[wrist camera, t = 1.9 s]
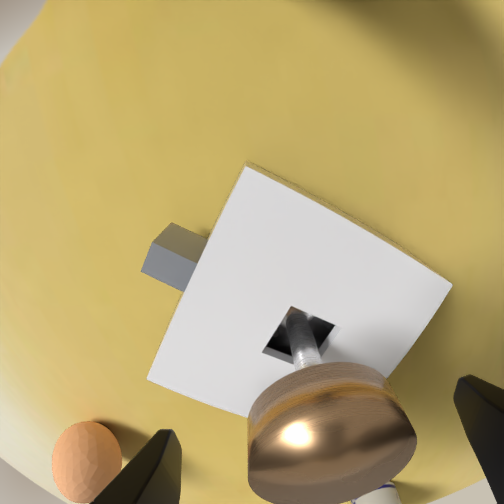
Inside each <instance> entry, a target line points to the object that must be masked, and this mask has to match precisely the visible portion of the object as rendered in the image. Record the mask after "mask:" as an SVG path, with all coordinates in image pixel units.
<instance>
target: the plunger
mask: <svg viewBox="0 0 504 504" xmlns="http://www.w3.org/2000/svg"><path fill="white" fill-rule="evenodd" d="M334 326H335V325H334V324H332V323H330V322H327V321H325V320H323V319H320V318H318V317H316V316H313V315H311V314H309V313H307V312H304V311H302V310H300V309H297V308H295V307H293V306H290V308H289V310H288V311H287V313H286V315H285V316H284V318H283V319H282V321H281V323H280V324H279V326H278V327H277V329H276V331H275V332H274V334H273V335H272V337H271V339H270V340H269V342H268V343H267V345H266V347H269V348H271V349H274V350H276V351H279V352H282V353H284V354H287V355H289V356H292V357H293V361H294V366H295V372H293V373H290V374H288V375H286V376H284V377H282V378H281V379H279V380H277V381H276V382H274V383H273V384H272V385H270V386H269V387H268V388H266V389H265V390H264V391H263V392H262V393H261V394H260V395H259V396H258V398H257V399H256V400H255V402H254V403H253V405H252V407H251V409H250V411H249V415H248V482H249V485H250V487H251V489H252V490H253V491H254V492H255V493H256V494H257V495H258V496H259V497H261V498H263V499H264V500H266V501H269V502H271V503H274V504H340V503H344V502H347V501H350V500H353V499H356V498H359V497H361V496H364V495H366V494H368V493H370V492H372V491H374V490H376V489H378V488H379V487H381V486H383V485H384V484H386V483H387V482H389V481H390V480H391V479H392V478H394V477H395V476H396V475H397V474H398V473H399V472H401V470H402V469H403V468H404V467H405V466H406V465H407V464H408V462H409V461H410V459H411V458H412V456H413V454H414V452H415V449H416V445H417V436H416V433H415V431H414V429H413V427H412V425H411V423H410V421H409V419H408V417H407V415H406V413H405V411H404V410H403V408H402V406H401V404H400V402H399V400H398V398H397V396H396V395H395V393H394V391H393V389H392V387H391V385H390V383H389V382H388V380H387V379H386V378H385V377H384V376H383V375H382V374H381V373H380V372H378V371H377V370H375V369H373V368H371V367H369V366H366V365H362V364H358V363H352V362H330V363H322V360H321V357H320V354H319V351H318V349H319V348H320V347H321V345H322V344H323V342H324V341H325V339H326V338H327V337H328V335H329V334H330V332H331V331H332V329H333V328H334Z"/></svg>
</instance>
